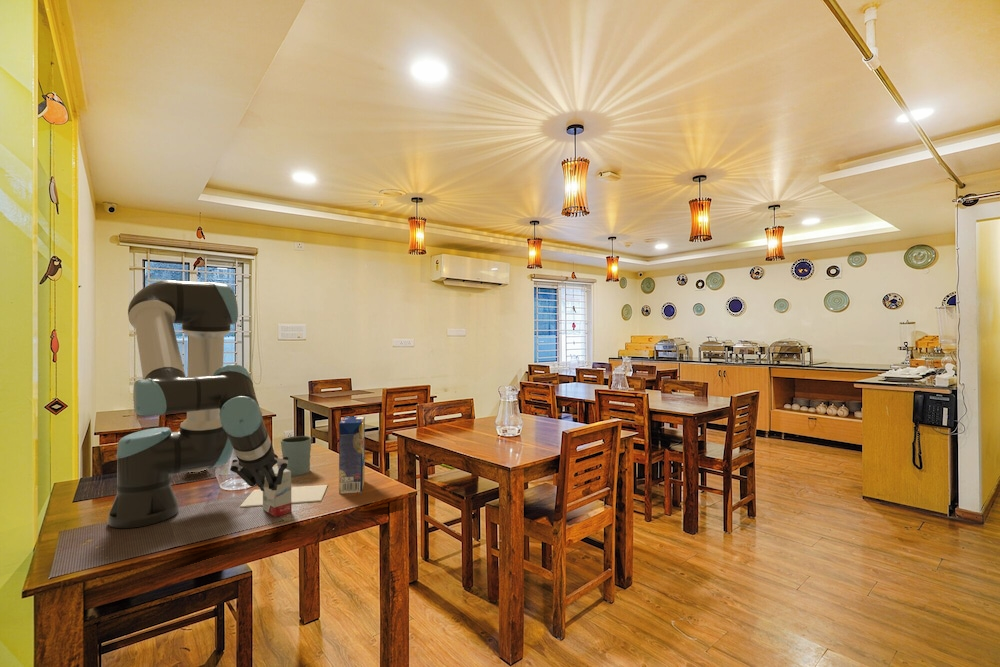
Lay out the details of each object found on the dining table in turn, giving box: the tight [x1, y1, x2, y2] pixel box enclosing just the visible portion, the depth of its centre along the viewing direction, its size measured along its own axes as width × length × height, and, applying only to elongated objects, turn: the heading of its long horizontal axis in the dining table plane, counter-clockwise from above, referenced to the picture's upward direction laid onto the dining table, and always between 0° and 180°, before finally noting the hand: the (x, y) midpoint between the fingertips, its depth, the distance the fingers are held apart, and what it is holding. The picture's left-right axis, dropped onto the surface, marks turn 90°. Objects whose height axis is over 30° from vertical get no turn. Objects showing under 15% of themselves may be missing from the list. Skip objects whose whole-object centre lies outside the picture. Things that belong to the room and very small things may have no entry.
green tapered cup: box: [280, 435, 312, 477], centre depth 167 cm, size 10×10×12 cm
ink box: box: [262, 465, 292, 518], centre depth 131 cm, size 9×5×12 cm, turn 47°
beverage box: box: [338, 415, 366, 495], centre depth 151 cm, size 7×11×22 cm, turn 12°
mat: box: [239, 484, 329, 508], centre depth 143 cm, size 22×14×1 cm, turn 103°
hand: (272, 494), depth 125 cm, fingers closed
